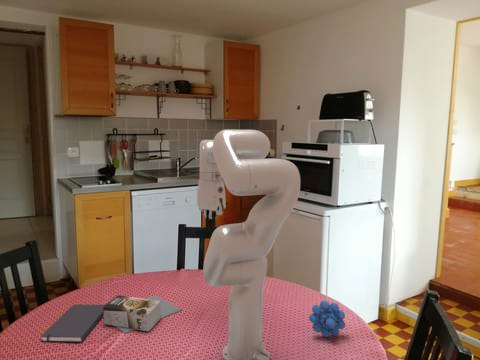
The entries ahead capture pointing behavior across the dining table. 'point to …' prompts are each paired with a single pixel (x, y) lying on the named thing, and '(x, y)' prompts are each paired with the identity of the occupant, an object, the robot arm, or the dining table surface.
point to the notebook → (74, 324)
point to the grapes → (327, 319)
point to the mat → (166, 311)
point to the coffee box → (132, 312)
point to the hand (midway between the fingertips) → (210, 229)
